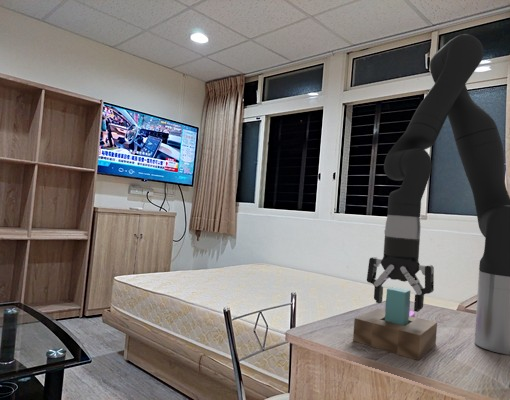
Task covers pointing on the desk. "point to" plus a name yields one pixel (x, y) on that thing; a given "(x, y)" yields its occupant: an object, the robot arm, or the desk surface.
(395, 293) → the peg
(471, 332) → the desk surface
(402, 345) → the socket block
